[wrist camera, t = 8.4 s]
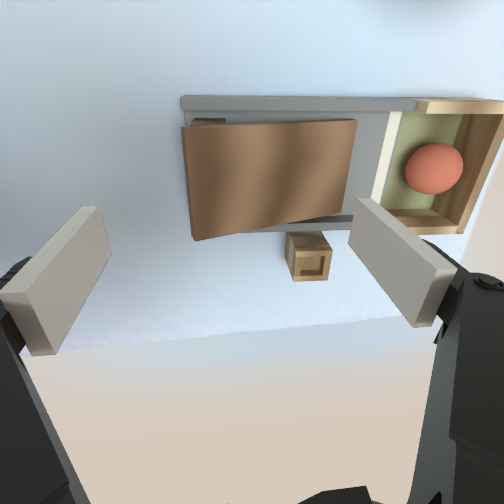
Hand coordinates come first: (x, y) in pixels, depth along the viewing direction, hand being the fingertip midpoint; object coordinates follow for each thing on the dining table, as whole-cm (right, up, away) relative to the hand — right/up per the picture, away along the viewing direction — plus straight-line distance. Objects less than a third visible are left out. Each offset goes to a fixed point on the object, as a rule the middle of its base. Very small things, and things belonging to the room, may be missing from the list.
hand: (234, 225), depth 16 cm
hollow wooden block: (+6, 0, +17) cm, 18 cm away
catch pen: (+17, +7, +13) cm, 22 cm away
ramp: (+3, +6, +11) cm, 12 cm away
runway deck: (+4, +7, +12) cm, 15 cm away
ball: (+17, +6, +11) cm, 21 cm away
